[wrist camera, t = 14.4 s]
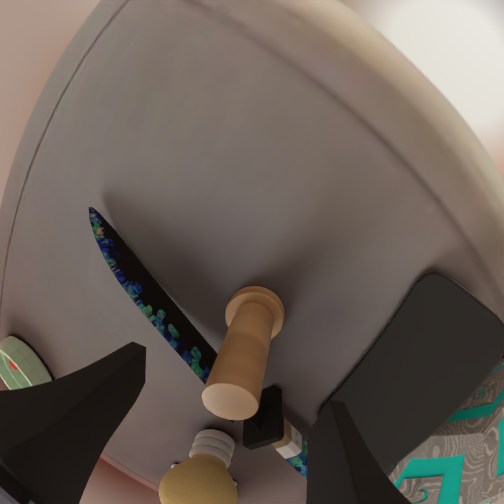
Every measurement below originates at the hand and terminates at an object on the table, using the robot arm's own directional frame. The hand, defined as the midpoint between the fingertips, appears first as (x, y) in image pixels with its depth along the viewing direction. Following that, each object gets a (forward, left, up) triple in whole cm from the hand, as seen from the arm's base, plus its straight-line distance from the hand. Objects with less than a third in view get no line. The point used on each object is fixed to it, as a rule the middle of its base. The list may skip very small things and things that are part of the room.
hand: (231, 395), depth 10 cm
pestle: (-1, 0, -8) cm, 9 cm away
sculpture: (+4, -28, -8) cm, 29 cm away
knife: (-6, 0, -9) cm, 11 cm away
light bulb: (-16, 0, -9) cm, 18 cm away
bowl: (-20, +24, -8) cm, 33 cm away
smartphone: (-10, -9, -5) cm, 15 cm away
